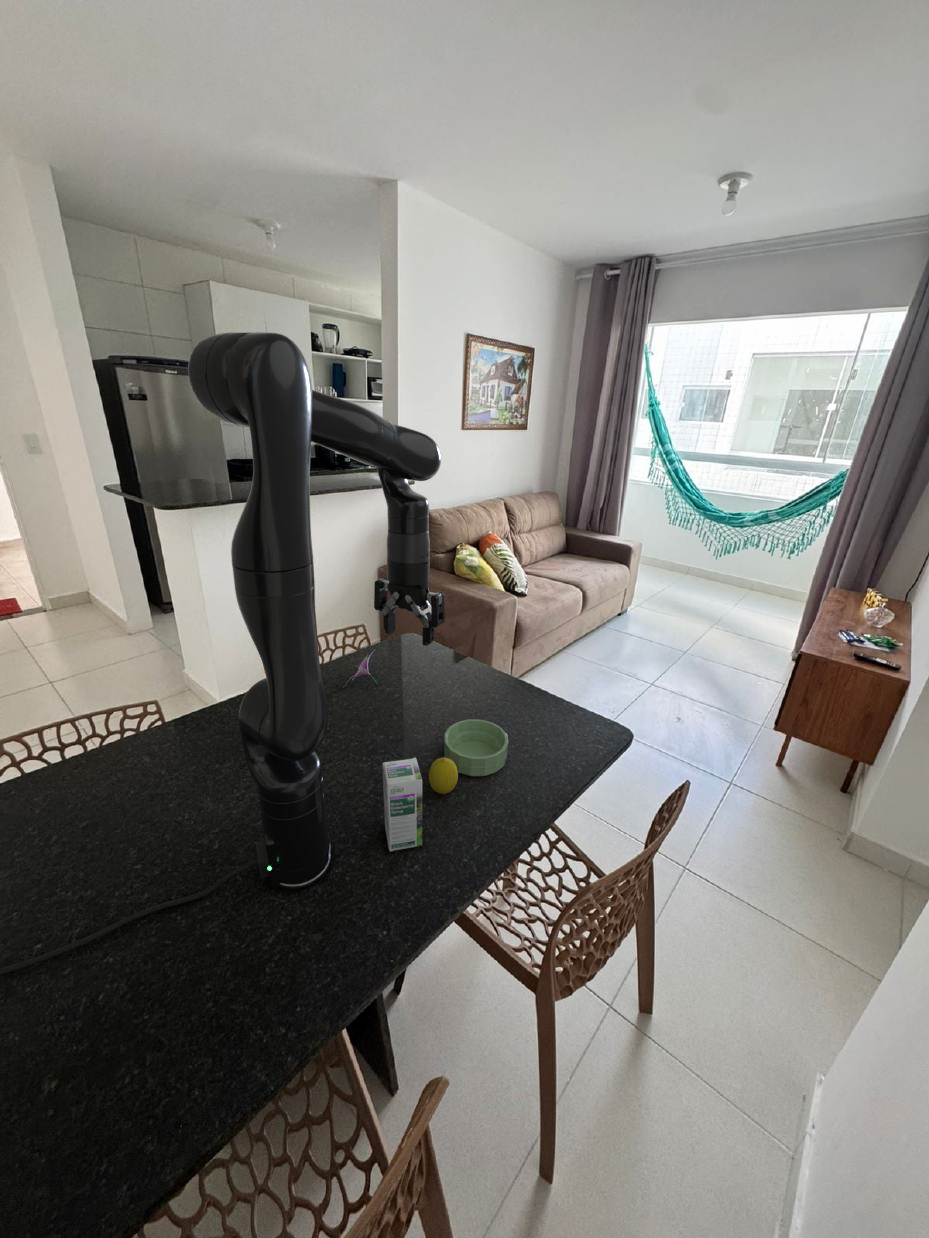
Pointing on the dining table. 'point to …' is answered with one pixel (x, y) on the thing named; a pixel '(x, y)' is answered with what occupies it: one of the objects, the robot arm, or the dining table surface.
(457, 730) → the bowl
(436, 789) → the lemon
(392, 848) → the syrup box
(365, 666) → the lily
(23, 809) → the dining table surface
